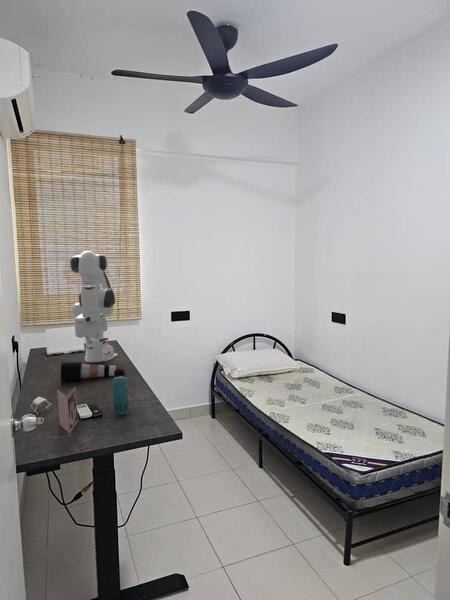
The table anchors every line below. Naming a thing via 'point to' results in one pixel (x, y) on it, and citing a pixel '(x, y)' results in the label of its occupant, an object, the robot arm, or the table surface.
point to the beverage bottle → (120, 393)
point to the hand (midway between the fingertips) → (93, 342)
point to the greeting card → (68, 410)
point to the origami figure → (39, 402)
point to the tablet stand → (63, 341)
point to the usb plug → (94, 343)
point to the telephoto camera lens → (85, 371)
